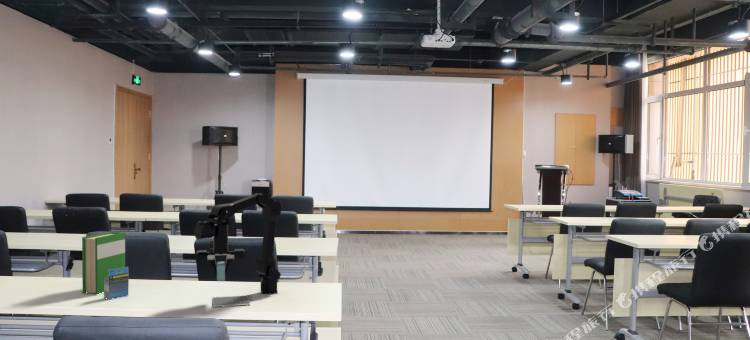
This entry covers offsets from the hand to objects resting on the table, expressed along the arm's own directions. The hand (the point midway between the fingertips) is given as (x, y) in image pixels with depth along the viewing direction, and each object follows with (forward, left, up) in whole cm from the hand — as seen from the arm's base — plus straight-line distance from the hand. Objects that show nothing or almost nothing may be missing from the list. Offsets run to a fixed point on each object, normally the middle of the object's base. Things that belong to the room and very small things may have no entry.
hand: (220, 275), depth 238 cm
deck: (0, 0, -1) cm, 1 cm away
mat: (-4, 0, -11) cm, 12 cm away
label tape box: (+42, -18, -11) cm, 47 cm away
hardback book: (+49, -33, -11) cm, 60 cm away
